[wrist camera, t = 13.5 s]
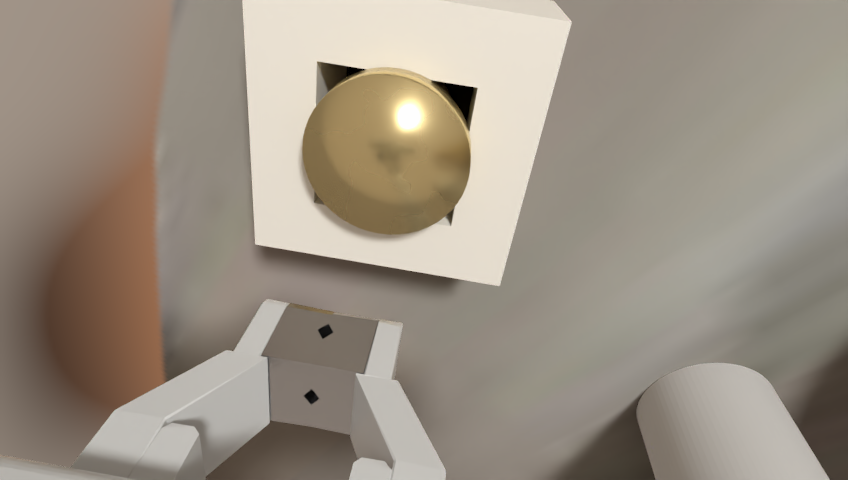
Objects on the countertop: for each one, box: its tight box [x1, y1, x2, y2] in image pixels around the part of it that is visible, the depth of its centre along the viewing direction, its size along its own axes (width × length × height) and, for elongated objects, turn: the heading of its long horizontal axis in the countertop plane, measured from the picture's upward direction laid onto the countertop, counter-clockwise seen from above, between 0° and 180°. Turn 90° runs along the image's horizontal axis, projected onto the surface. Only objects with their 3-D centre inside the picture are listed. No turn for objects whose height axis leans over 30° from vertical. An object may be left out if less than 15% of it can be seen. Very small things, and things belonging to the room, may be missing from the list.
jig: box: [243, 0, 572, 286], centre depth 22 cm, size 11×11×5 cm
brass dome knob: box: [302, 67, 471, 235], centre depth 21 cm, size 6×6×6 cm
